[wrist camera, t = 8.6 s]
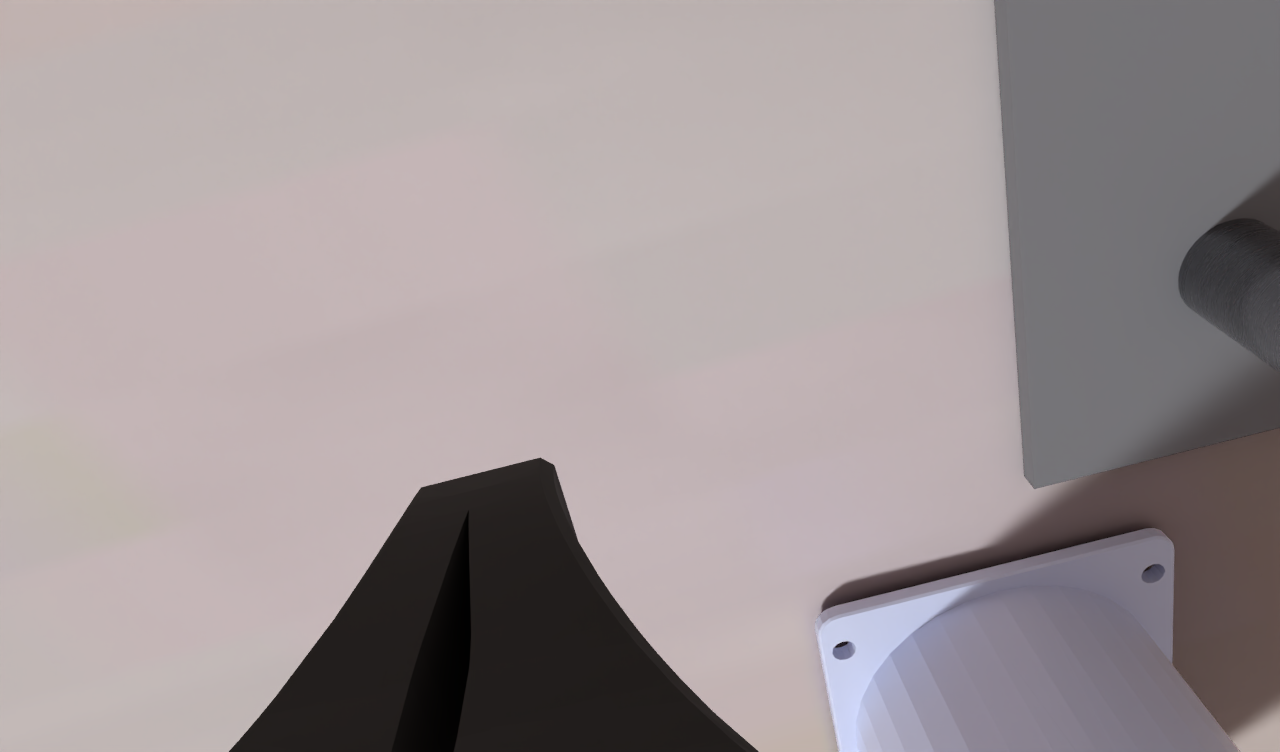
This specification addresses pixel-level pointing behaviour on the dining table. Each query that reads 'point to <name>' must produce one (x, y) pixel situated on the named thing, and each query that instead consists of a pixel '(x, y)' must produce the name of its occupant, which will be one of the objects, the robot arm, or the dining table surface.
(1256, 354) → the hinge post
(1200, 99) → the mat
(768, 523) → the dining table surface
